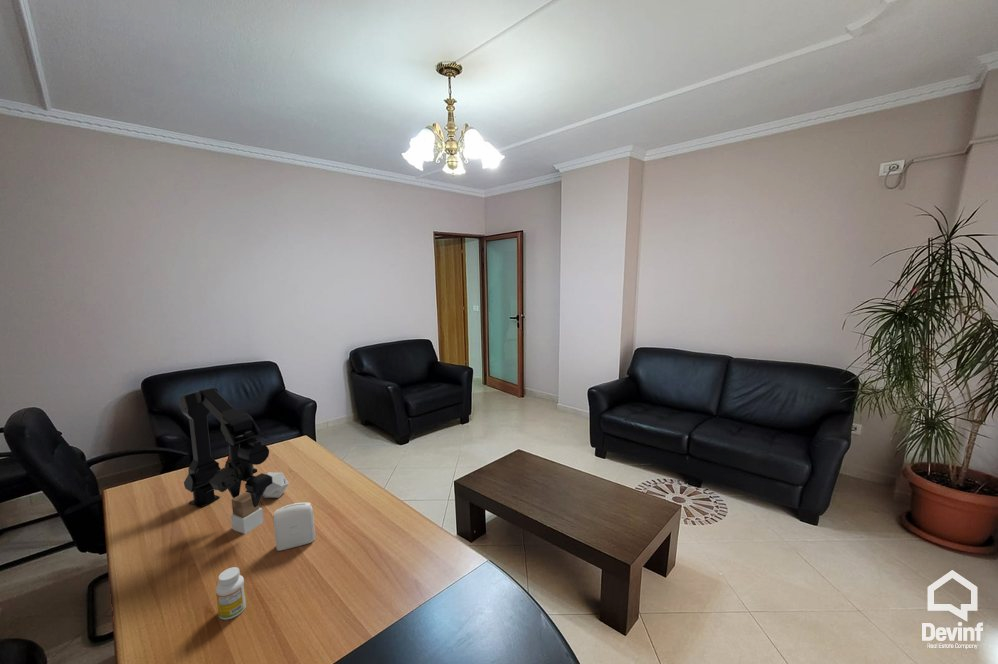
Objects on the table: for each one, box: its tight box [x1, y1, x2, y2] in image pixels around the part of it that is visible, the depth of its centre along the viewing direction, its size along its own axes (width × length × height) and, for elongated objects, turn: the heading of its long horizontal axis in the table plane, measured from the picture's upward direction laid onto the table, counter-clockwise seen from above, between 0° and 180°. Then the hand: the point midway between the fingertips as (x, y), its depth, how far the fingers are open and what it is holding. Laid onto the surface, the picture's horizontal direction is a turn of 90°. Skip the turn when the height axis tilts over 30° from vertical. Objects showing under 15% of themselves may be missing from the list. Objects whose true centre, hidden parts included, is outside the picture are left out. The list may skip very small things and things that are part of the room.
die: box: [262, 471, 290, 499], centre depth 136 cm, size 8×9×10 cm
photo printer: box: [273, 502, 316, 552], centre depth 111 cm, size 10×4×12 cm, turn 114°
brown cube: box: [231, 491, 260, 518], centre depth 119 cm, size 5×5×5 cm
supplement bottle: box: [215, 566, 247, 620], centre depth 89 cm, size 5×5×10 cm
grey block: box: [230, 506, 265, 535], centre depth 119 cm, size 6×6×5 cm
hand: (245, 503), depth 119 cm, fingers open, 9 cm apart
